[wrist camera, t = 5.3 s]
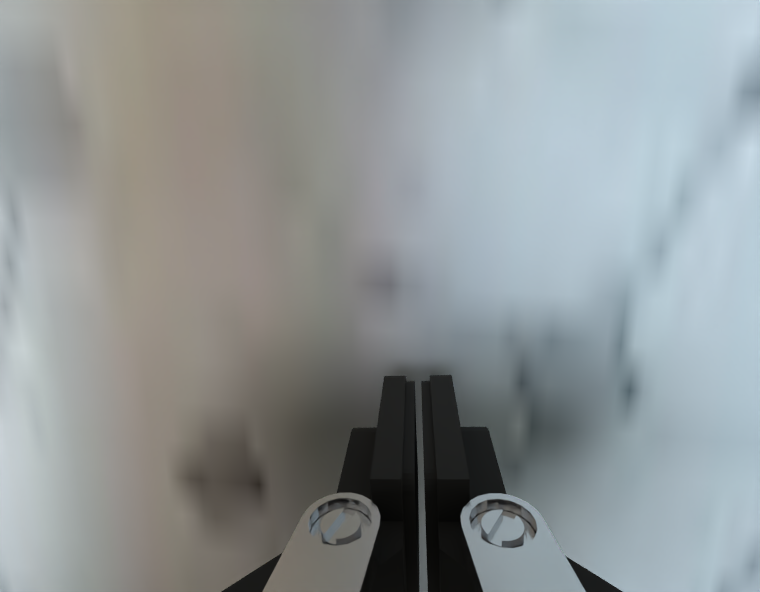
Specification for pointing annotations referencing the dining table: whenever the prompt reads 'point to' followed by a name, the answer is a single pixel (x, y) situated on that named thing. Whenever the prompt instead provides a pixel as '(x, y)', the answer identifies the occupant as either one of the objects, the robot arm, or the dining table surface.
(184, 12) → the dining table surface
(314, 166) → the dining table surface
